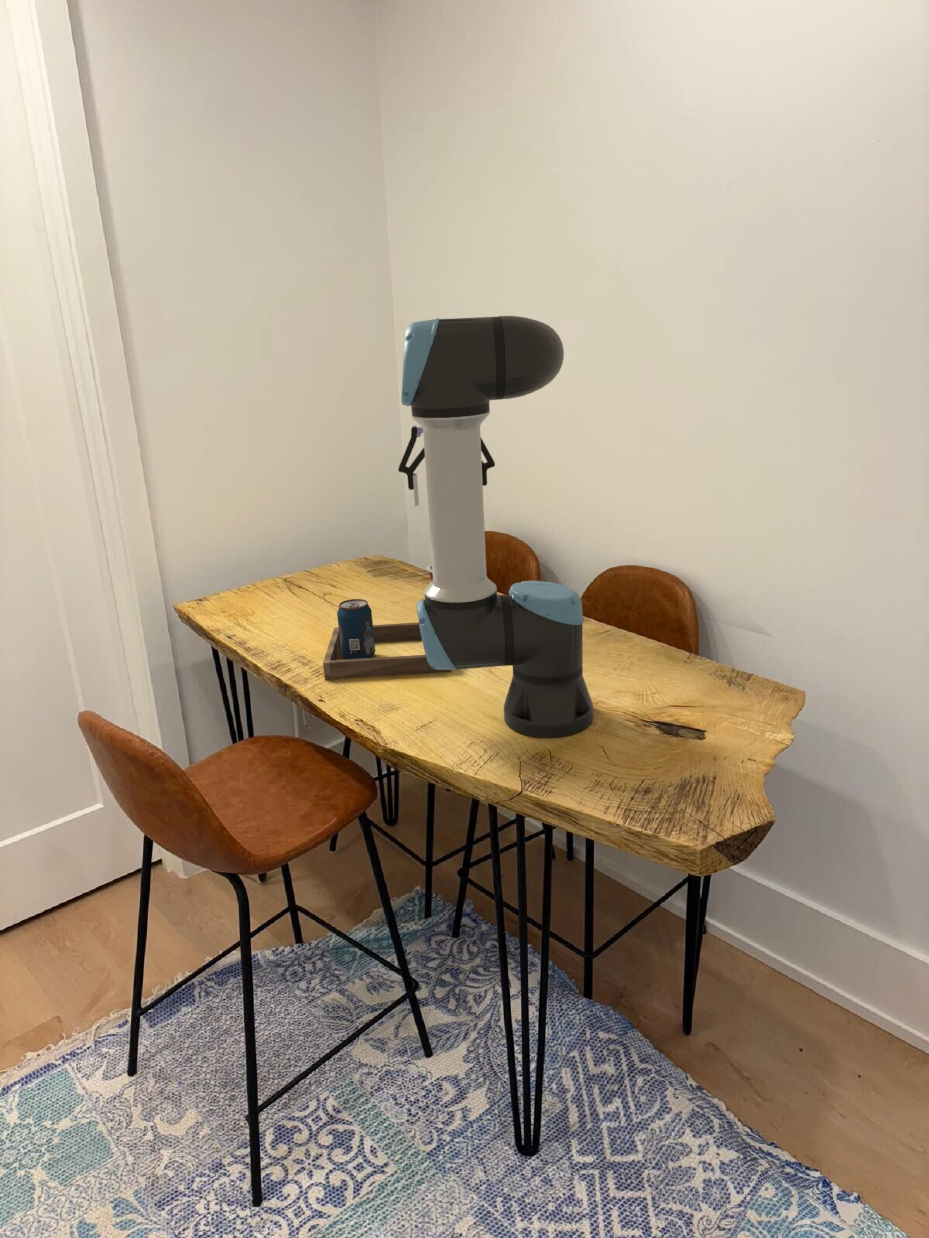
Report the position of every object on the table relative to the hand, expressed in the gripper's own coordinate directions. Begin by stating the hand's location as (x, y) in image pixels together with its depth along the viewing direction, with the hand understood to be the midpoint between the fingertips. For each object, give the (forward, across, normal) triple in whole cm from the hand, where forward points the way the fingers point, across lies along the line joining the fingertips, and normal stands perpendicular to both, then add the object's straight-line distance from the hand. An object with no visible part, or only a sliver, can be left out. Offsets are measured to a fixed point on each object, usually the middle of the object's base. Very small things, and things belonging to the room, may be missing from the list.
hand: (448, 503), depth 178 cm
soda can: (+28, +20, +17) cm, 38 cm away
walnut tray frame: (+28, +14, +16) cm, 35 cm away
